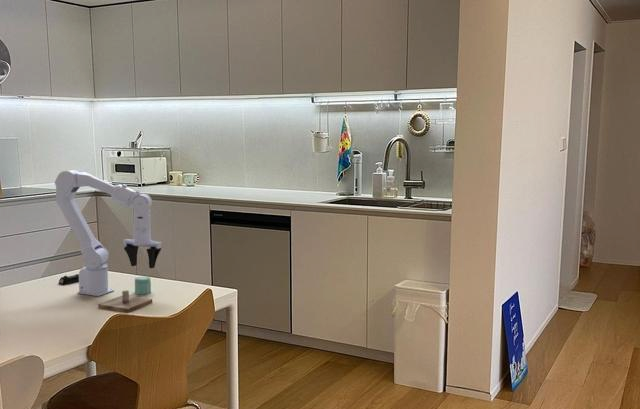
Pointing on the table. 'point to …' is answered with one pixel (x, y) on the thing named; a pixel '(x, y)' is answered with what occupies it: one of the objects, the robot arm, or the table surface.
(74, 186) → the robot arm
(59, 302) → the table surface
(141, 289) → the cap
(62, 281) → the electric trimmer
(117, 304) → the post board
